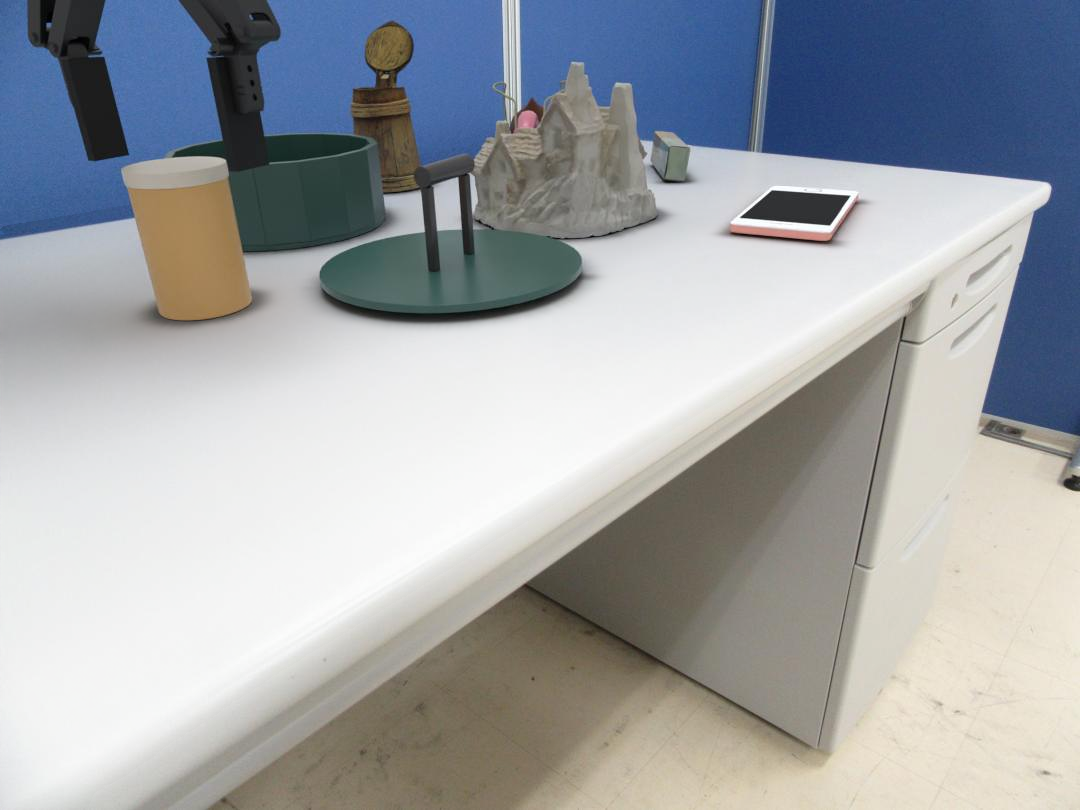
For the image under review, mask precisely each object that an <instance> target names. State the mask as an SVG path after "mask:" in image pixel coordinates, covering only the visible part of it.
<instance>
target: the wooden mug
mask: <svg viewBox="0 0 1080 810" xmlns="http://www.w3.org/2000/svg"><path fill="white" fill-rule="evenodd" d="M364 46H365V47H364V60H365V64H366V65H367V67H368V68H369V69H370V70H372V71H373V72H374V74H375V84H374V87H372V86H371V87H368V86H366V87H365V86H364V87H363V86H361V87H354V88H352V100H350V116H351V117H352V124H353V134H355V135H360V136H365V137H370V138H373V139H374V140H375V141H376V142H377V143H378V151H379V160H380V169H381V178H382V187H383V194H384V193H385V194H386V193H398V192H406V191H412V190H416V189H421V187H420V186H418V185H417V184H416V182H415V180H414V172H415V170H416V168H418V167H420V166H422V163H421V162H422V161H421V157H420V154H419V150H418V144H417V139H416V135H415V131H414V126H413V121H412V115H411V111H412V106H411V103H410V99H409V98H408V97H407V93H406V88H405V86H397V84H398V83H397V82H398V74H399V73H401V72H402V71H403V70H404V69H405V68H406V67H407V66H408V65H409V64H410V62H411V61H412V59H413V55H414V51H415V43H414V39H413V36H412V34H411V32H410V31H409V30H408V29H407V28H406V27H404V26H403V25H401V24H400V23H398V22H396V21H395V20H389V21H387V22H384V23H383V24H381V25H380V26H378V27H377V28H376V29H374V30H373V31H372V32H371V33H370V34H369V35H368V36H367V38H366V42H365V45H364Z"/></svg>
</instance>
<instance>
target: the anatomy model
mask: <svg viewBox="0 0 1080 810" xmlns="http://www.w3.org/2000/svg"><path fill="white" fill-rule="evenodd" d="M562 84H566V80H560V81H559V83H558V85H559V88H560V90H559V91H558V92H557V93H565V88H564V87H563V85H562ZM498 85H503V91H501V90H499V89H497V88H496V86H498ZM492 89H493V90H494V91H495V92H496V93H498V94H500V95H501V96H502V98H503V99H502V101H503V102H502V103H503V111H504V112H503V113H504V120H506V121H507V122H508V114H507V113H508V112H507V103H506V102H507V101H506V99H509V100H510V101H511V102H512V103H513V104H514V108H513V109H514V110H513V114H514V115H513V116H512V117H511V121H510V124H509V131H510V134H516V132H517V130H518V128H519V127H525V128H534V129H535V128H537V127H538V125H539V123H540V122H541V119H542V117H543V115H544V114H545V112H546V111H547V109H548V108H547V106H546V105H547V102H548V101H549V100H551V99H552V97H553V95H554V94H552V95H549V96H548V97H546V98H545V100H544V101H543V106H542V105H540V104H539V103H538V102H537V101H536V100H535V98H534V97H532V96H531V97H530V99H529V101H528V102H527V103H526V104H525V105H524V106H523V107H522V108H520V110H519V111H517V106H518V105H517V102H516V100H515V98H513V97H512V96H509V95H507V94H506V91H507V83H506V82H504V81H497V82H494V83H493V85H492Z"/></svg>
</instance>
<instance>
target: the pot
mask: <svg viewBox="0 0 1080 810" xmlns="http://www.w3.org/2000/svg"><path fill="white" fill-rule="evenodd" d="M264 137H265V142H266V148H267V153H268V159H269V165H265V166H261V167H257V168H252V169H248V170H244V171H239V172H233V171H229V168H228V172H229V176H228V180H229V185H230V190H231V195H232V200H233V205H234V210H235V215H236V220H237V225H238V230H239V235H240V241H241V246H242V251H243V252H267V251H268V252H269V251H281V250H282V251H284V250H293V249H301V248H302V249H303V248H308V247H315V246H321V245H326V244H332V243H336V242H340V241H345V240H348V239H352V238H356V237H358V236H361V235H364V234H366V233H368V232H371V231H374V230H375V229H377V228H378V227H379V226H381V225H382V224H383V223H384V221H385V216H386V213H387V212H386V206H385V197H384V193H383V187H382V178H381V169H380V160H379V151H378V143H377V142H376V141H375V140H374V139H373V138H370V137H365V136H360V135H355V134H354V133H352V134H351V133H336V132H335V133H333V132H295V133H294V132H293V133H292V132H290V133H275V134H264ZM197 156H203V157H218V158H223V159H225V160H226V162H227V158H226V153H225V148H224V143H223V139H215V140H211V141H210V140H209V141H204V142H200V143H193V144H189V145H184V146H182V147H178V148H176V149H172V150H169V151H167V152H166V154H165V156H164V157H163V159H165V158H176V157H197ZM227 167H228V163H227Z"/></svg>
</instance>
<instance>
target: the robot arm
mask: <svg viewBox="0 0 1080 810" xmlns="http://www.w3.org/2000/svg"><path fill="white" fill-rule="evenodd" d="M178 2H179V4H181V6H182V7H183V8H184V10H185V11H186V12H187V14H188V15H189V17H190V18H191V19H192V20H193V22H194V23H195V25H196V26H197V27H198V29H199V30H200V31H201V33H202V34H203V35H204V36H205V38H206V40H208V41H209V43H210V44H211V45H210V47H209V51H207V54H208V55H209V56H210V57H206V58H205V60H206V64H207V69H208V74H209V79H210V84H211V89H212V93H213V98H214V103H215V109H216V114H217V119H218V123H219V128H220V134H221V138H222V139H223V143H224V148H225V153H226V158H227V163H228V168H229V171H233V172H239V171H244V170H248V169H252V168H257V167H261V166H265V165H269V159H268V153H267V148H266V142H265V137H264V135H265V131H264V125H263V122H262V121H263V120H262V115H261V112H264V111H265V97H264V92H263V86H262V81H261V75H260V70H259V69H260V68H259V64H258V53H259V52H260V49H261V48H262V47H264V46H265V45H267V44H269V43H271V42H277V41H279V40H280V38H281V35H282V30H281V27H280V24H279V22H278V20H277V18H276V16H275V14H274V12H273V10H272V8H271V6H270V4H269V2H268V0H178ZM105 3H106V0H26V4H27V5H26V6H27V7H26V8H27V9H26V11H27V14H26V15H27V17H26V18H27V38H28V41H29V43H30V44H31V45H32V46H33V47H34V48H44V49H45V50H48V51H49V54H50V55H51V56H52V57H54V58H56V59H57V60H58V63H59V67H60V71H61V74H62V77H63V81H64V84H65V89H66V91H67V96H68V100H69V101H70V103H71V105H72V107H73V110H74V114H75V118H76V121H77V124H78V125H77V126H78V128H79V132H80V136H81V139H82V142H83V146H84V150H85V153H86V158H87V161H88V162H99V161H105V160H109V159H114V158H122V157H127V156H130V152H129V149H128V144H127V141H126V137H125V133H124V129H123V125H122V120H121V117H120V113H119V110H118V109H119V108H118V105H117V100H116V97H115V93H114V90H113V85H112V81H111V77H110V74H109V71H108V66H107V62H106V58H105V56H101V55H102V54H103V50H101V48H100V47H99V46H98V45H97V44H96V42H97V37H98V32H99V29H100V25H101V20H102V17H103V12H104V9H105ZM47 24H50V26H47ZM222 139H221V140H222Z"/></svg>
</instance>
